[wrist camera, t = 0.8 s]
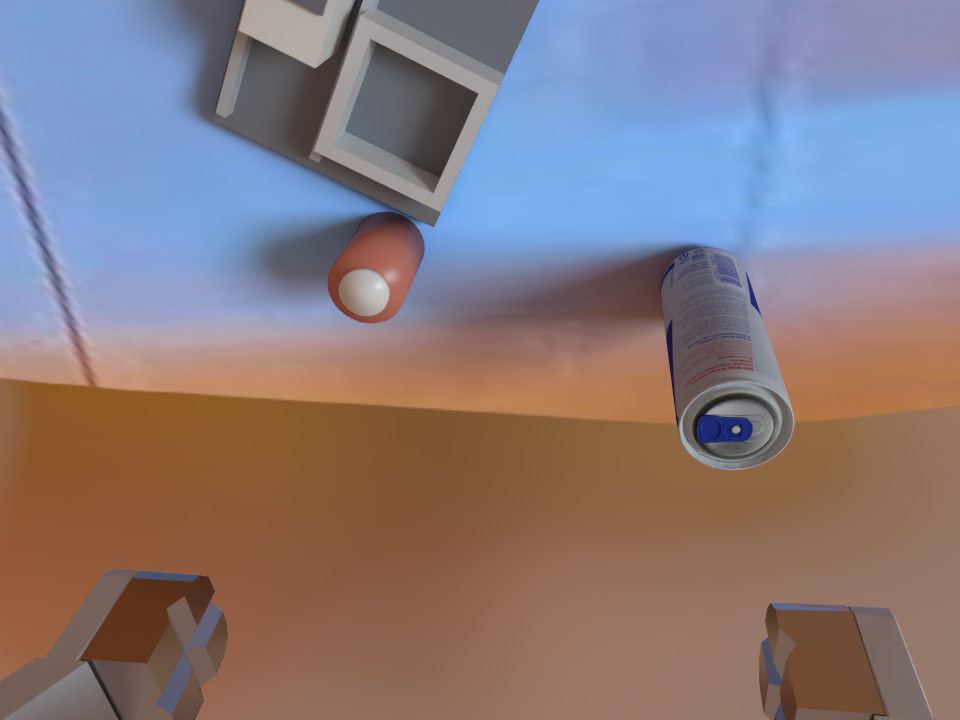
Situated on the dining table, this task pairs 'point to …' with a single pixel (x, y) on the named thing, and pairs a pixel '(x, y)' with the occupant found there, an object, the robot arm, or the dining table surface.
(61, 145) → the dining table surface
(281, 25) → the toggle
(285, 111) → the panel
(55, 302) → the dining table surface
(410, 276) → the bottle with white cap
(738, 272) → the beverage can
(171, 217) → the dining table surface
